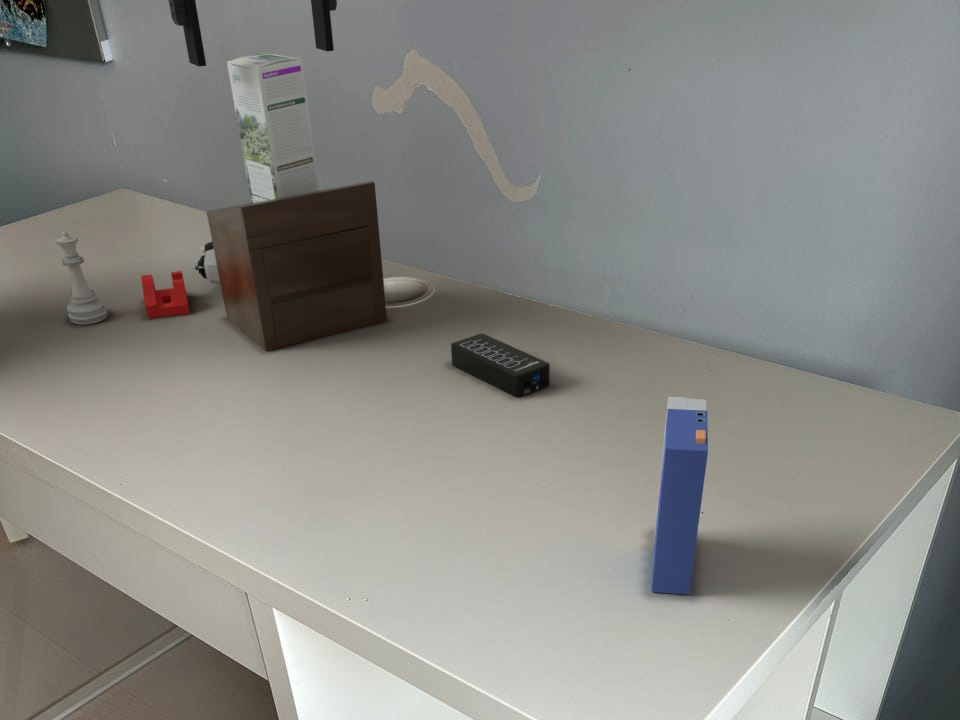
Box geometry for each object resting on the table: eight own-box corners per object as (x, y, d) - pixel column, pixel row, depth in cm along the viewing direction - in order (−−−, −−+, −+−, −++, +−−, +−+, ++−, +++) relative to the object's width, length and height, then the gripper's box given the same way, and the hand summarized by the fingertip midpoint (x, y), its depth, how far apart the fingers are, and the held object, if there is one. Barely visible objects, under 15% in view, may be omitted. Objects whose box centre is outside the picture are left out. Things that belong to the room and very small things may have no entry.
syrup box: (324, 208, 108) (305, 55, 98) (280, 220, 104) (256, 64, 95) (293, 199, 111) (272, 50, 102) (249, 211, 108) (224, 58, 98)
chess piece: (116, 314, 118) (93, 227, 111) (89, 327, 115) (63, 238, 108) (89, 309, 119) (64, 223, 113) (61, 321, 116) (35, 234, 110)
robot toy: (202, 269, 132) (198, 300, 120) (195, 234, 129) (191, 261, 117) (293, 260, 134) (300, 290, 121) (288, 225, 131) (294, 251, 119)
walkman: (690, 595, 71) (709, 445, 63) (650, 592, 71) (665, 443, 64) (690, 536, 77) (708, 393, 69) (654, 533, 77) (668, 391, 70)
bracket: (147, 300, 121) (141, 275, 119) (186, 295, 122) (181, 270, 120) (148, 318, 116) (142, 293, 114) (189, 313, 117) (184, 288, 115)
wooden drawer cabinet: (226, 318, 116) (200, 182, 106) (341, 291, 122) (326, 160, 112) (266, 351, 108) (241, 207, 98) (387, 320, 114) (374, 182, 104)
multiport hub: (482, 353, 106) (481, 332, 104) (551, 385, 99) (551, 363, 97) (450, 364, 103) (449, 343, 102) (517, 398, 97) (517, 376, 95)
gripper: (91, -229, 78) (152, 76, 91) (372, -227, 88) (390, 48, 101) (67, -224, 83) (129, 65, 96) (335, -222, 93) (357, 39, 106)
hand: (263, 57), depth 99 cm, fingers open, 13 cm apart
